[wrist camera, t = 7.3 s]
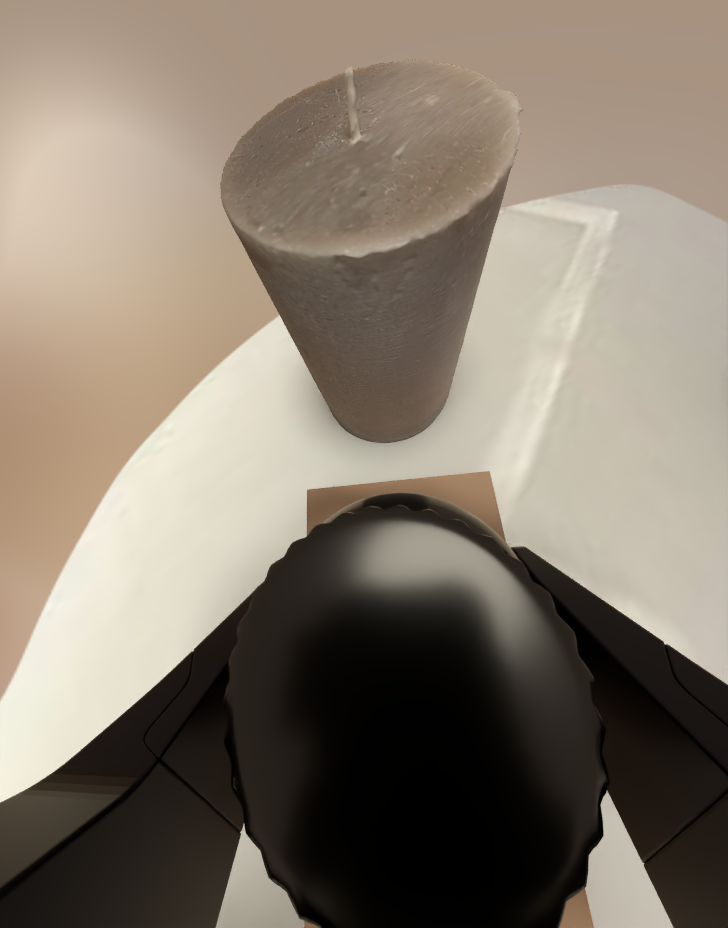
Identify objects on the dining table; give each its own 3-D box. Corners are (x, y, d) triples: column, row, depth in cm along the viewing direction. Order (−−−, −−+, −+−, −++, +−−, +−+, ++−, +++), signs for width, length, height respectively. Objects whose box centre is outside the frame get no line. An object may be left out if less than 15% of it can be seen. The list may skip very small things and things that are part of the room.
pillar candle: (318, 359, 23) (180, 65, 9) (426, 324, 23) (460, -52, 8) (343, 460, 20) (190, 250, 6) (470, 422, 19) (642, 84, 5)
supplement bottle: (413, 499, 16) (426, 365, 5) (501, 601, 14) (946, 815, 2) (321, 573, 15) (91, 620, 4) (397, 693, 13) (340, 1548, 2)
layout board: (582, 922, 11) (604, 968, 10) (313, 897, 13) (303, 934, 12) (484, 476, 18) (490, 470, 17) (312, 493, 19) (306, 489, 18)
